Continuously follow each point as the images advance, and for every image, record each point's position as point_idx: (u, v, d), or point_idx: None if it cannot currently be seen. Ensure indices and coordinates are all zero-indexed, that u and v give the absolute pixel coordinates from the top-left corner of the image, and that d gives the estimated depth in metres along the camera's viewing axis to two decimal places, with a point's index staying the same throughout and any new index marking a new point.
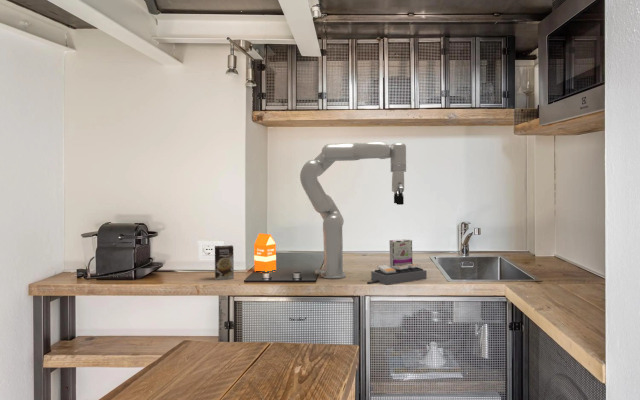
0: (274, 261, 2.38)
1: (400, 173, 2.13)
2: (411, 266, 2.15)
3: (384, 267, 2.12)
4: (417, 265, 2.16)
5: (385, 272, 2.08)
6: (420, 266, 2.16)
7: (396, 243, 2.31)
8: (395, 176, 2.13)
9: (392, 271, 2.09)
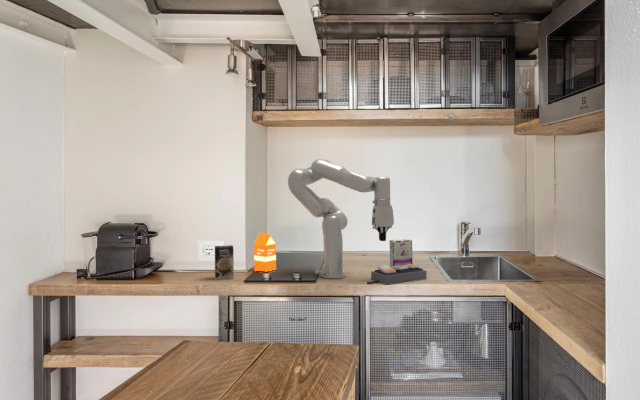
0: (274, 261, 2.38)
1: None
2: (411, 266, 2.15)
3: (384, 267, 2.12)
4: (417, 265, 2.16)
5: (385, 272, 2.08)
6: (420, 266, 2.16)
7: (396, 243, 2.31)
8: (392, 210, 2.13)
9: (392, 271, 2.09)
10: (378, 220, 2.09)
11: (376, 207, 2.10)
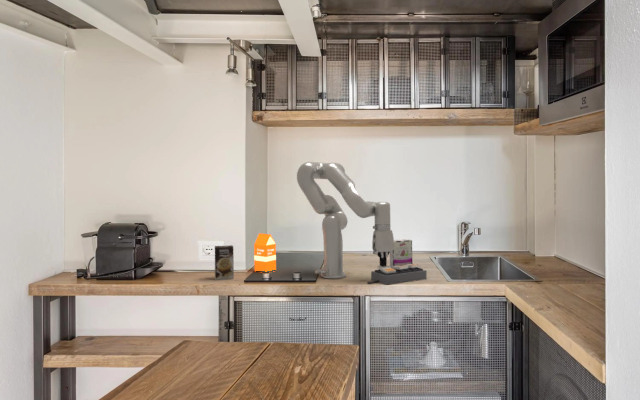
0: (274, 261, 2.38)
1: None
2: (411, 266, 2.15)
3: (384, 267, 2.12)
4: (417, 265, 2.16)
5: (385, 272, 2.08)
6: (420, 266, 2.16)
7: (396, 243, 2.31)
8: (392, 235, 2.14)
9: (392, 271, 2.09)
10: (378, 246, 2.10)
11: (376, 233, 2.10)
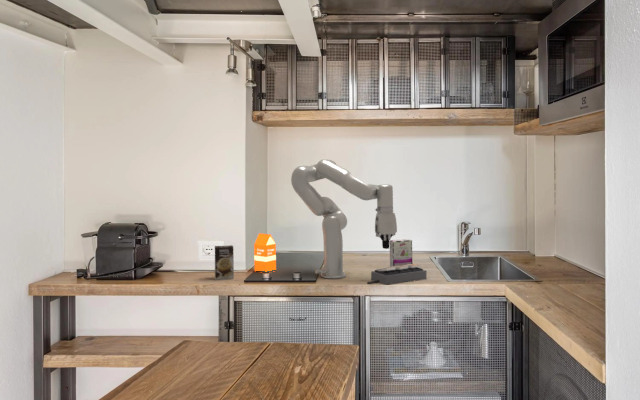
0: (274, 261, 2.38)
1: None
2: (411, 266, 2.15)
3: None
4: (417, 265, 2.16)
5: (385, 270, 2.08)
6: (420, 266, 2.16)
7: (396, 243, 2.31)
8: None
9: (392, 268, 2.09)
10: (381, 228, 2.09)
11: (379, 215, 2.10)
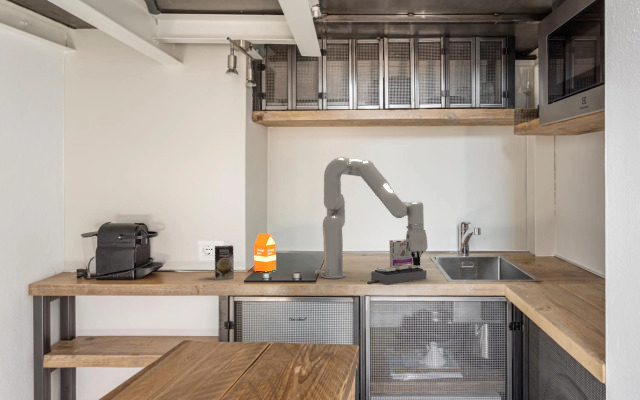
0: (274, 261, 2.38)
1: None
2: (411, 266, 2.15)
3: None
4: None
5: (385, 270, 2.08)
6: (420, 266, 2.16)
7: (396, 243, 2.31)
8: (425, 234, 2.15)
9: (392, 268, 2.09)
10: (412, 245, 2.11)
11: (410, 232, 2.11)
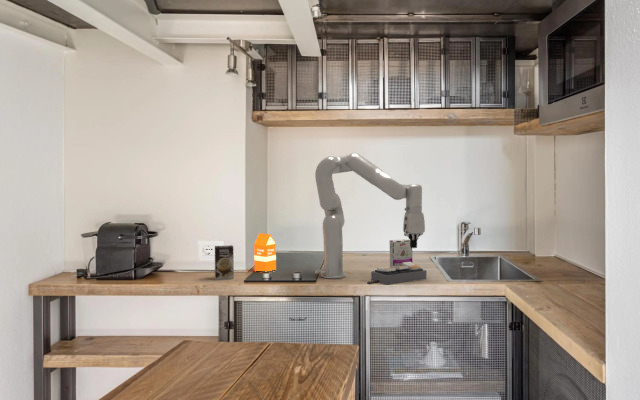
0: (274, 261, 2.38)
1: None
2: (411, 268, 2.15)
3: None
4: (417, 268, 2.16)
5: (385, 270, 2.08)
6: None
7: (396, 243, 2.31)
8: (423, 217, 2.16)
9: (392, 268, 2.09)
10: (410, 227, 2.11)
11: (408, 214, 2.12)
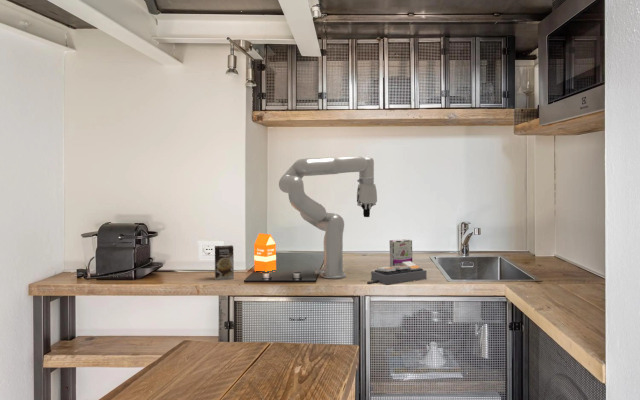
0: (274, 261, 2.38)
1: None
2: (411, 269, 2.15)
3: None
4: None
5: (385, 270, 2.08)
6: None
7: (396, 243, 2.31)
8: (375, 188, 2.31)
9: (392, 269, 2.09)
10: (362, 197, 2.27)
11: (360, 185, 2.27)
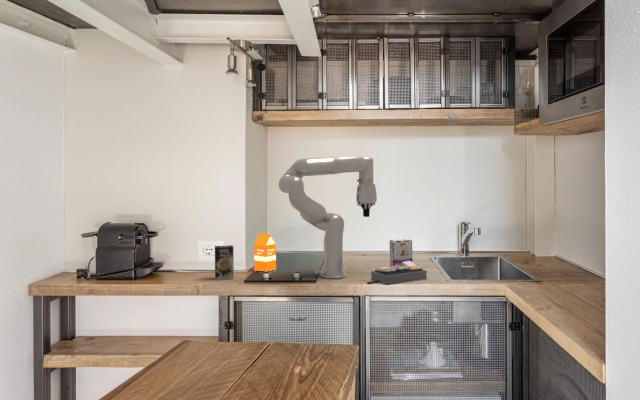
0: (274, 261, 2.38)
1: None
2: (411, 269, 2.15)
3: None
4: None
5: (385, 270, 2.08)
6: None
7: (396, 243, 2.31)
8: (375, 188, 2.31)
9: (392, 269, 2.09)
10: (362, 197, 2.27)
11: (360, 185, 2.27)
